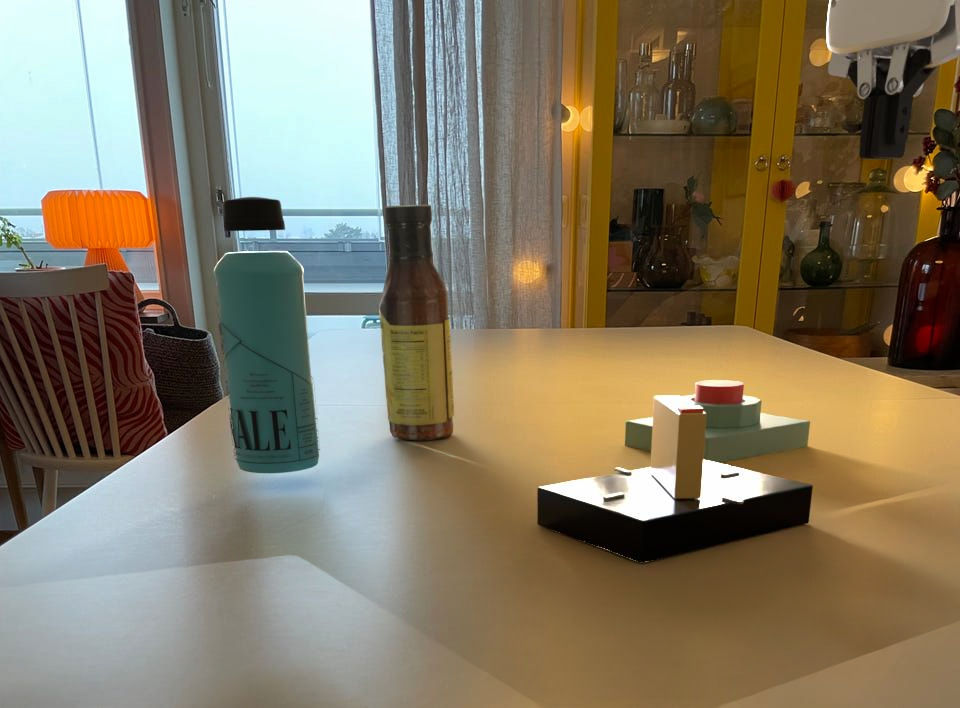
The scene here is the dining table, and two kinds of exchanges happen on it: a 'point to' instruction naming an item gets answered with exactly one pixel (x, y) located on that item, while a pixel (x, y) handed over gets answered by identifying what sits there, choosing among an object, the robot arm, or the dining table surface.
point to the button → (719, 392)
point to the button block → (732, 431)
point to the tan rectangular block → (678, 446)
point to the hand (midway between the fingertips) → (881, 157)
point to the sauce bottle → (415, 331)
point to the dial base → (672, 510)
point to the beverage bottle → (266, 347)
